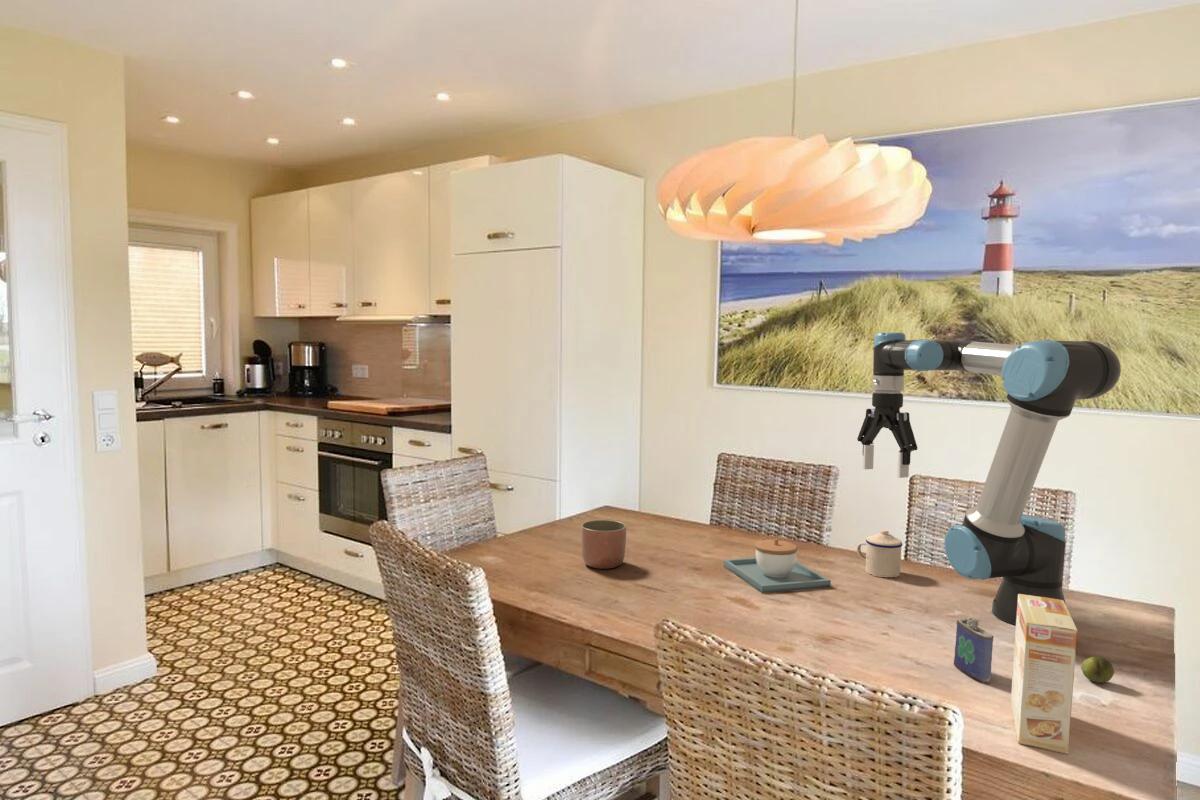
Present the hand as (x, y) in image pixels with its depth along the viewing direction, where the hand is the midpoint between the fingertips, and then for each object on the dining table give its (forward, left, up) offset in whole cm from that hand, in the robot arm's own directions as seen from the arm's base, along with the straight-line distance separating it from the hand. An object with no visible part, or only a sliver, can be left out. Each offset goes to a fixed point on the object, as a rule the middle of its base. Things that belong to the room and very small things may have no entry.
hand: (884, 473), depth 196 cm
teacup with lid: (+2, -1, -28) cm, 28 cm away
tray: (+5, +28, -27) cm, 40 cm away
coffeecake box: (-74, +24, -28) cm, 82 cm away
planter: (+25, +69, -28) cm, 79 cm away
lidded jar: (+5, +28, -27) cm, 39 cm away
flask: (-55, +20, -28) cm, 64 cm away
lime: (-64, 0, -28) cm, 69 cm away
